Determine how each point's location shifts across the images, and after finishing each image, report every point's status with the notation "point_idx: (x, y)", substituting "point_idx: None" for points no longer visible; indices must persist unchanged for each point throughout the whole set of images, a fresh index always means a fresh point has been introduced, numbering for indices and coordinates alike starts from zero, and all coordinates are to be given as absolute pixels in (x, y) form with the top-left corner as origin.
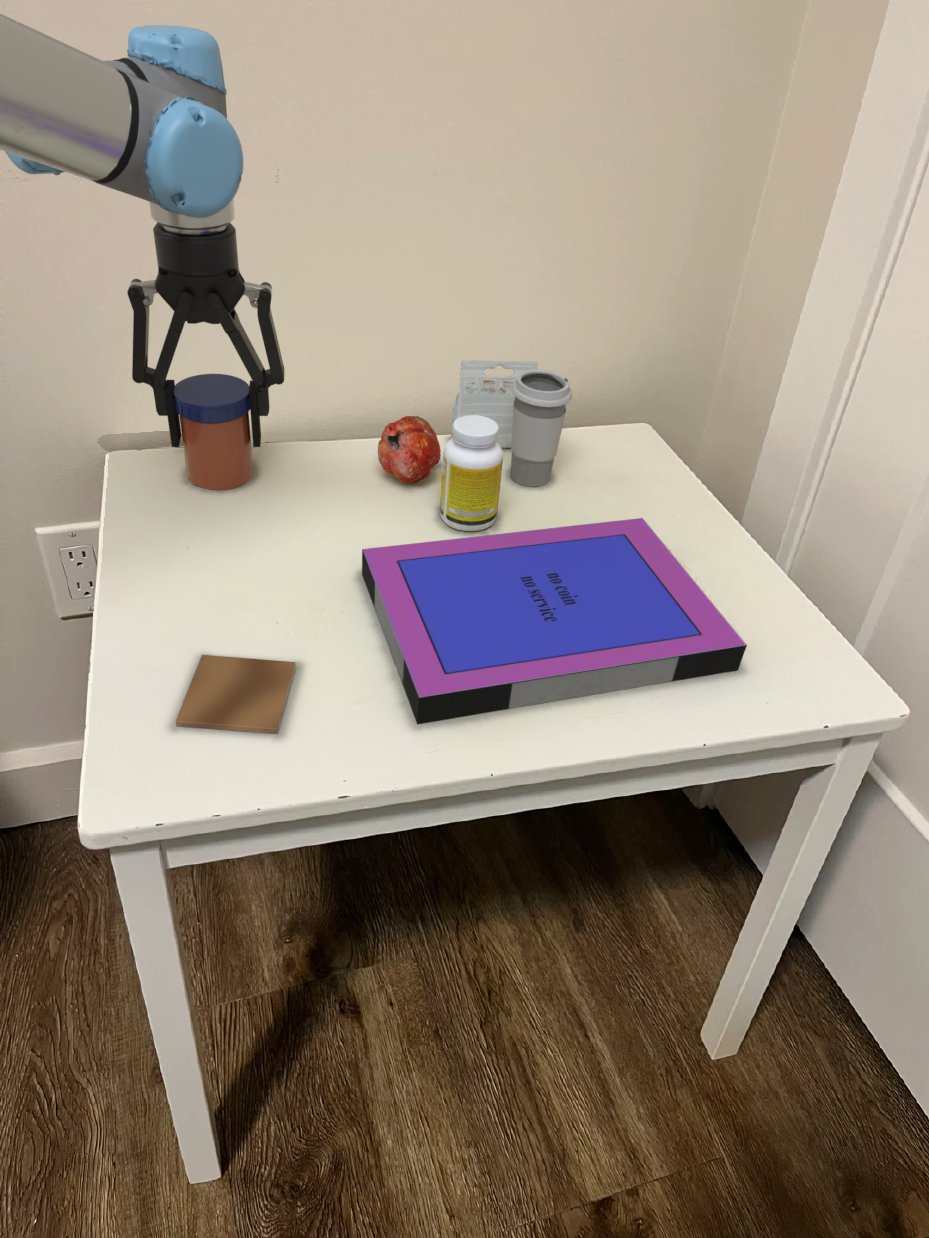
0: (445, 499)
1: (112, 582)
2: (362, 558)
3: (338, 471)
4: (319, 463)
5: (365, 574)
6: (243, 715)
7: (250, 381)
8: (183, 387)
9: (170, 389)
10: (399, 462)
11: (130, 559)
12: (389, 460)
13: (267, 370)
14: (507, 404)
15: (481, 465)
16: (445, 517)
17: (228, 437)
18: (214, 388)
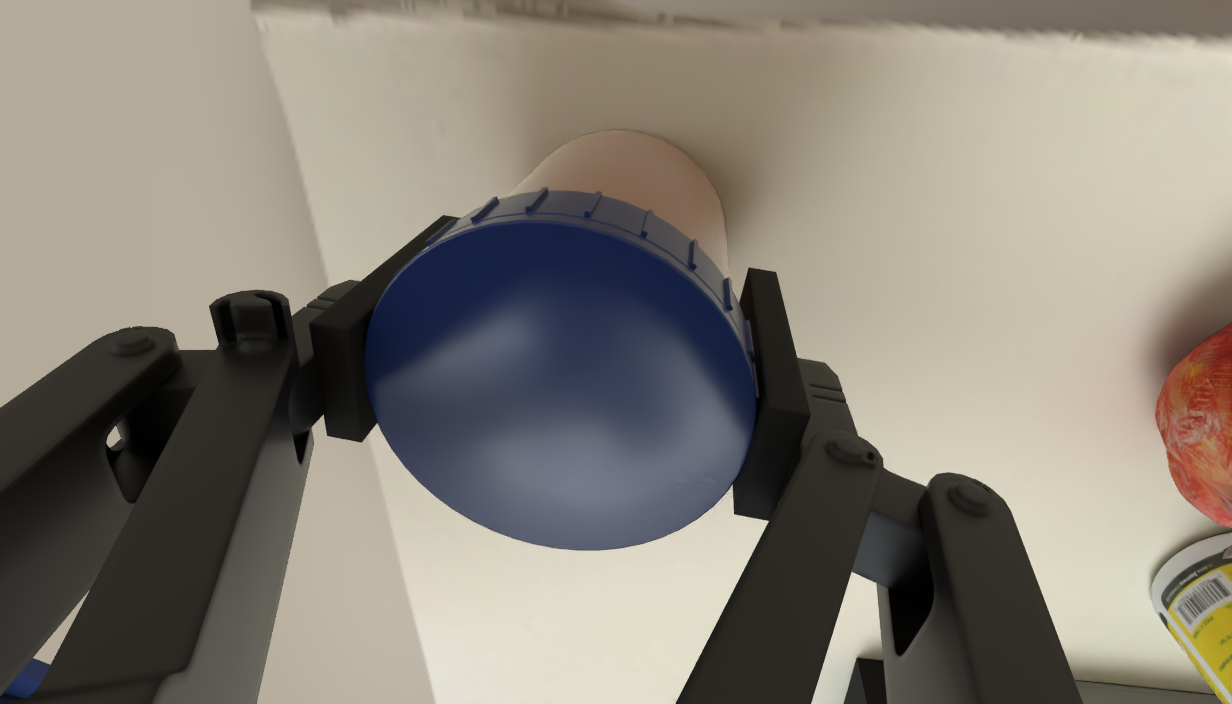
0: (1196, 653)
1: (410, 570)
2: (865, 701)
3: (1012, 293)
4: (971, 229)
5: (856, 697)
6: None
7: (769, 416)
8: (411, 371)
9: (353, 428)
10: (1206, 515)
11: (428, 526)
12: (1188, 473)
13: (883, 528)
14: None
15: None
16: (1160, 608)
17: None
18: (568, 405)
